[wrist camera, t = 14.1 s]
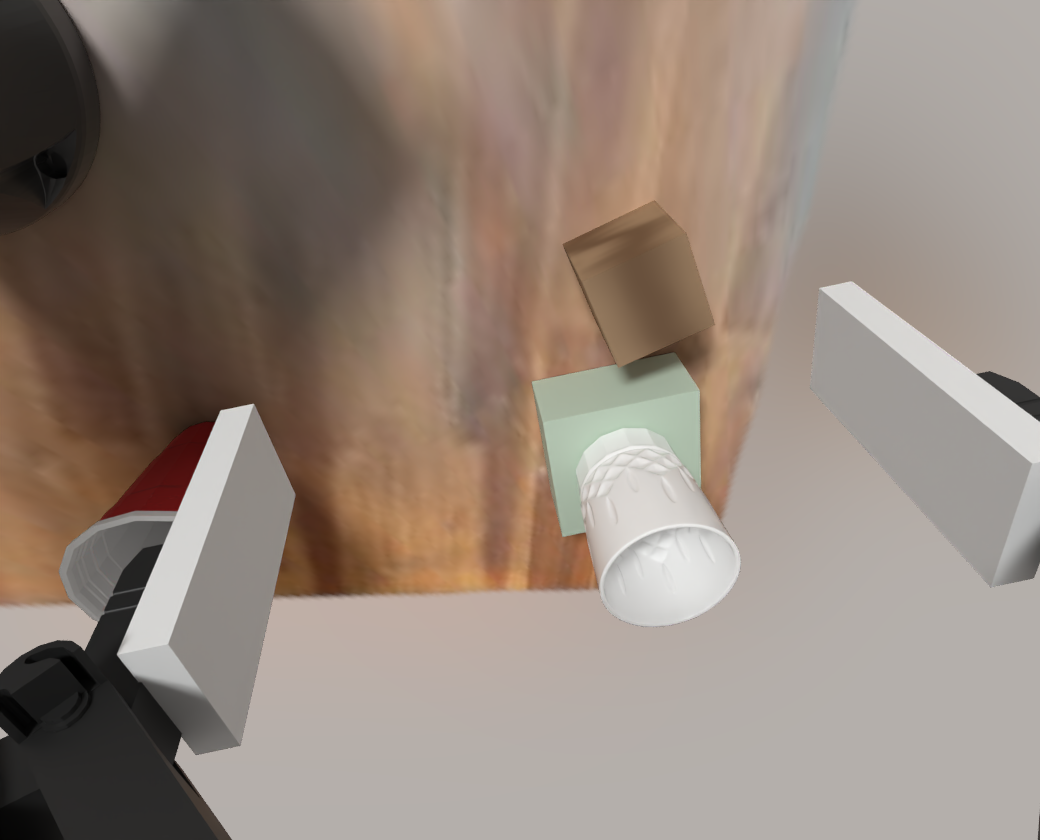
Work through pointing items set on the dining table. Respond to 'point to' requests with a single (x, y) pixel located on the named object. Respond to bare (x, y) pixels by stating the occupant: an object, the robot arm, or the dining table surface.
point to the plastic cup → (132, 523)
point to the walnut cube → (640, 282)
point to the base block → (613, 419)
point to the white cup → (652, 531)
